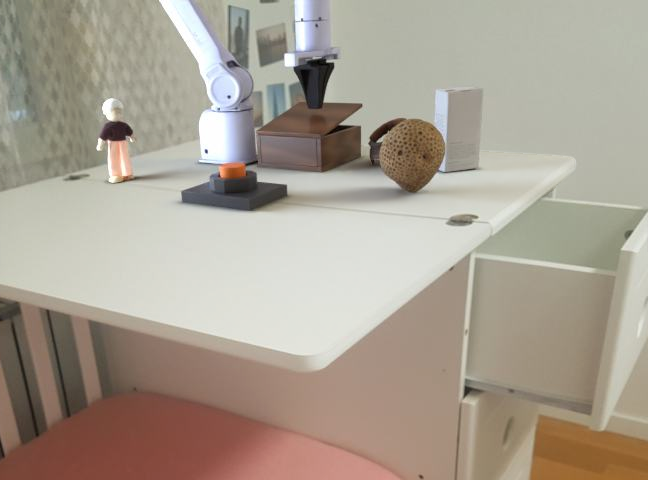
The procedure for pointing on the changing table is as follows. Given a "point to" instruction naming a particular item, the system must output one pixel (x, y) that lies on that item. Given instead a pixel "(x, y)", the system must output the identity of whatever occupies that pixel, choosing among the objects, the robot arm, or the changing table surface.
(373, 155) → the pottery mug
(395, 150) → the natural sponge
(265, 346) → the changing table surface
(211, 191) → the switch block
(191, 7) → the robot arm
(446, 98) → the cosmetic box
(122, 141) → the grandmother figurine
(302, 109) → the lid
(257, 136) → the chest
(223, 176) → the button
